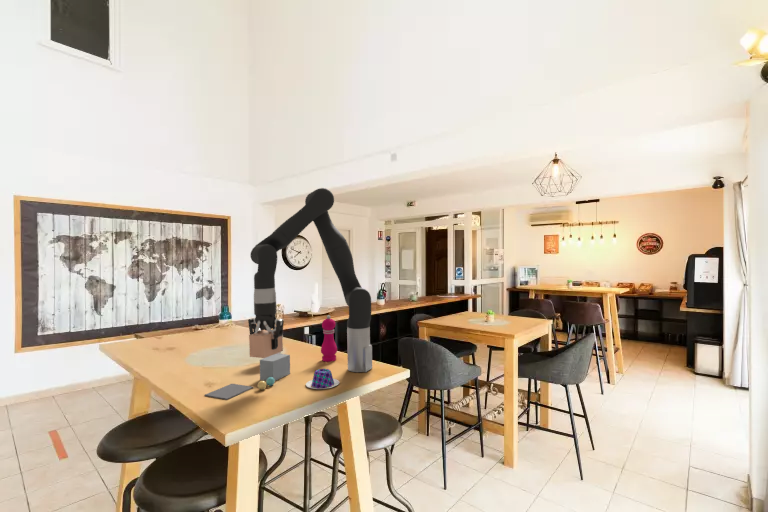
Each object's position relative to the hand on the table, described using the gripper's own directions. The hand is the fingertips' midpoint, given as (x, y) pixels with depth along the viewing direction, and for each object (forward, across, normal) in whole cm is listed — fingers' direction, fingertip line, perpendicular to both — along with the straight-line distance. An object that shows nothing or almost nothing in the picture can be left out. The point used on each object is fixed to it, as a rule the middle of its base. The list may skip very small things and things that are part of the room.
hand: (266, 348), depth 134 cm
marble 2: (+14, 0, -2) cm, 14 cm away
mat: (+14, +10, +8) cm, 19 cm away
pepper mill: (+15, -2, -39) cm, 41 cm away
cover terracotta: (+2, 0, 0) cm, 2 cm away
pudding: (+15, -17, -10) cm, 24 cm away
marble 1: (+14, 0, +2) cm, 14 cm away
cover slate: (+14, +5, -11) cm, 18 cm away
